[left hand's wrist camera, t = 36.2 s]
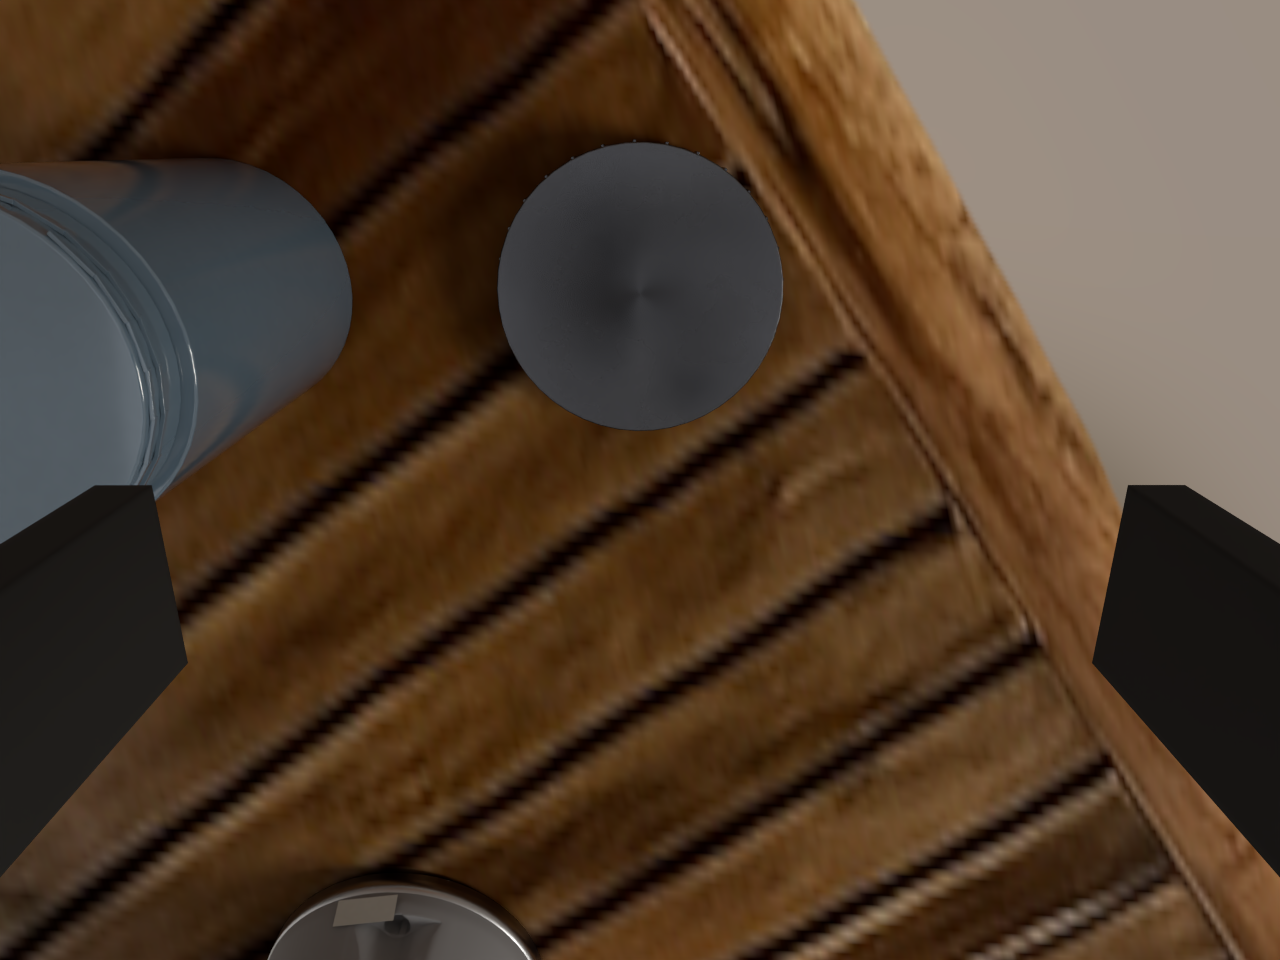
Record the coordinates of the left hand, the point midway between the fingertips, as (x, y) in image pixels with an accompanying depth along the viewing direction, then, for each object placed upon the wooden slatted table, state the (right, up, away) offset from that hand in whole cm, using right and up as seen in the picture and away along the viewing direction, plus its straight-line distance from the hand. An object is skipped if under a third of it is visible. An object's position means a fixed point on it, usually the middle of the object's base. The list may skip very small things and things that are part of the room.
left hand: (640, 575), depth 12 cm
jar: (-17, +9, +25) cm, 32 cm away
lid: (0, +9, +23) cm, 25 cm away
